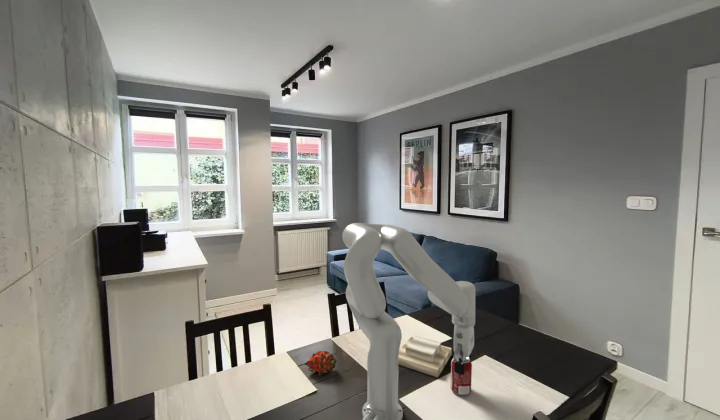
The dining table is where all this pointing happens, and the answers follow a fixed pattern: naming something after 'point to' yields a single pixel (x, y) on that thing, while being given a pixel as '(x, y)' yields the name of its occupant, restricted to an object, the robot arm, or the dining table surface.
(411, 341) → the birch riser
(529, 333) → the dining table surface
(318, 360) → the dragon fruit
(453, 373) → the soda can
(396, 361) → the robot arm
